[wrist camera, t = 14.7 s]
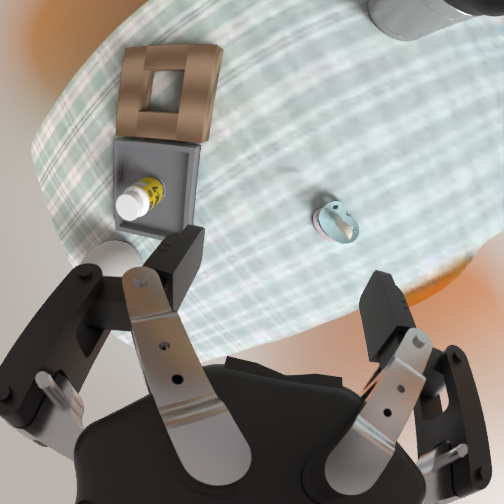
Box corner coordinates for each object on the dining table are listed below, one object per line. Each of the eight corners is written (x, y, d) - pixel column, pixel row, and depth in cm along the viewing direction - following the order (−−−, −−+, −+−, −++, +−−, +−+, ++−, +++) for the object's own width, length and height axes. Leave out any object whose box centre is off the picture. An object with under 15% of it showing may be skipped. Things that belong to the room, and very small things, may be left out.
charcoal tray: (122, 137, 38) (114, 140, 36) (201, 145, 37) (195, 148, 35) (122, 223, 46) (115, 229, 44) (191, 238, 46) (187, 246, 43)
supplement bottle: (166, 204, 42) (141, 226, 35) (141, 200, 42) (114, 221, 35) (166, 176, 40) (140, 193, 32) (141, 173, 40) (112, 189, 33)
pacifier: (330, 247, 43) (360, 227, 40) (334, 268, 38) (369, 247, 35) (303, 214, 41) (335, 191, 38) (304, 232, 36) (341, 207, 33)
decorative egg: (97, 263, 52) (57, 306, 39) (109, 220, 46) (59, 262, 33) (142, 293, 54) (109, 344, 41) (160, 254, 48) (121, 307, 35)
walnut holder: (137, 50, 30) (125, 48, 27) (223, 50, 30) (217, 45, 27) (127, 132, 37) (115, 135, 34) (208, 140, 37) (200, 143, 34)
